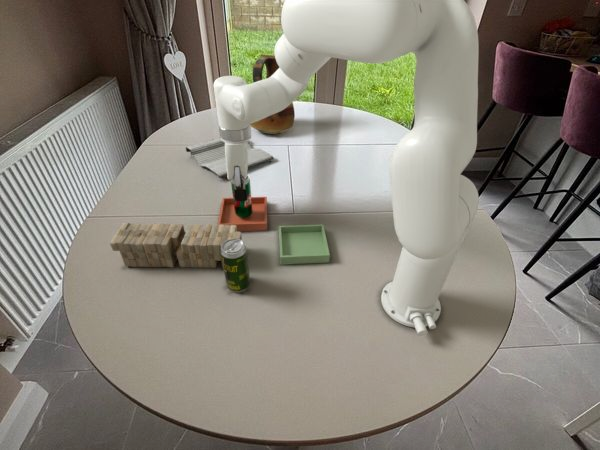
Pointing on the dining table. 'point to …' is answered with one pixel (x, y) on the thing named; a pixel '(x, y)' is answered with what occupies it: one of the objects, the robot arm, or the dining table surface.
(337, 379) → the dining table surface
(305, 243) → the green tray
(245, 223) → the terracotta tray
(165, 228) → the block tower
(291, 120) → the ceramic pitcher
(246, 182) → the soda can
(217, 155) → the mat
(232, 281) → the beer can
